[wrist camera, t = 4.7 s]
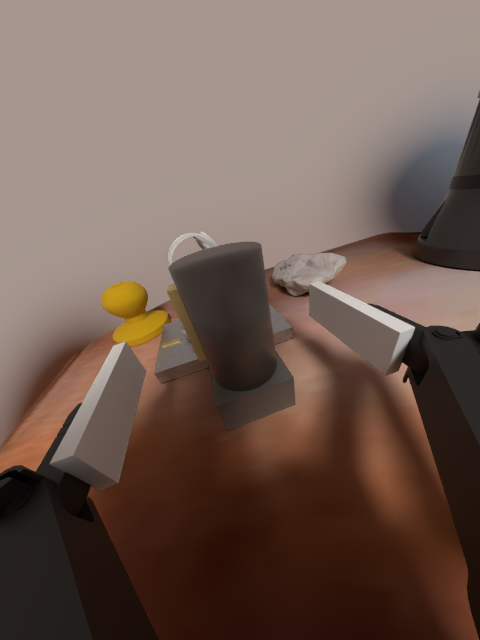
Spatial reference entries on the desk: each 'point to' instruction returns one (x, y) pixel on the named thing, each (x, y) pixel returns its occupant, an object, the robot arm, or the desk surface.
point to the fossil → (307, 271)
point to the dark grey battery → (232, 329)
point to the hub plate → (181, 357)
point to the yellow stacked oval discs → (133, 313)
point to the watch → (201, 239)
